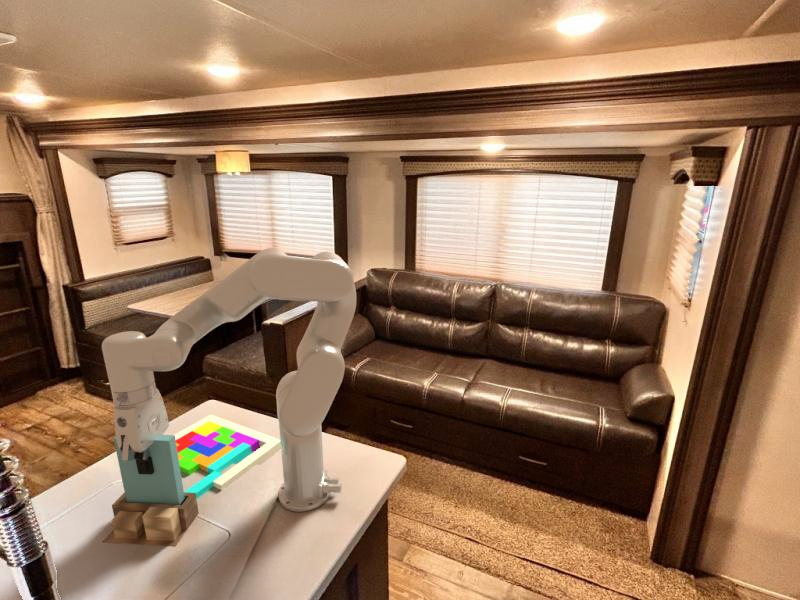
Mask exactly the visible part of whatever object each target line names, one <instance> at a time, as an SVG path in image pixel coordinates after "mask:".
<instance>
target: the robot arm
mask: <svg viewBox="0 0 800 600" xmlns="http://www.w3.org/2000/svg"><path fill="white" fill-rule="evenodd" d="M354 279H355V278H354V274H353V272H352V269H351V268H350V266H349V265H348V264H347V262H345V261H344V260H343V259H342V257H341V256H340V255H338V254H336V253H334V252H333V251H321V252H319V253H317V254H314V256H313V257H312V258H308V257H307V258H305V257H294V256H288V254H286V253H285V252H284V251H282V250H281V249H278V248H274V247H269V248H265V249H262V250H260V251H259V252H258V253H256V254H255V255H253V256H252V257H250V258H249V259H248V260H246V261H245V262H244V263H242V264H241V265H240V266H239V267H237V268H236V269H235V270H233V271H232V272H231V273H229V274H227V276H226V277H224V278H223V279H221V280H220V281H219V282H217V283H215V285H213V286H212V287H211V288H209V289H208V290H206V291H205V292H204V293H202V295H200V296H198V297H197V298H196V299H194V300H193V301H191V302H190V303H188V304H187V305H186V306H184V307H183V308H182V309H181V310H179V311H178V312H177V313H175V314H174V315H172V316H171V317H169V318H168V319H167V320H166V321H165V322H163V323H162V324H161V325H160V326H159V327H158V329H157V330H156V331H155V332H154V333H153V334H151V335H150V336H146V335H145V334H144V333H143V332H140V331H135V330H130V331H129V330H128V331H122V332H117V333H114V334H111V335H109V336H107V337H105V338H104V340H103V341H102V343H101V352H102V355H103V361H104V364H105V369H106V374H107V378H108V382H109V386H110V391H111V397H112V405H114V407H113V423H114V432H115V433H114V434H115V437H116V439H117V443H118V447H119V449H120V451H121V452H122V461H131V460H136V465H137V469H138V473H139V474H149V475H152V474H153V473H154V468H153V463H152V458H151V457H149V454H148V449H147V448H148V447H149V446H151V445H152V444H153V443H154V440H155V439H156V438H157V437H158V436H159V435H164V434H165V432H167V430H168V429H169V426H170V423H169V418H168V413H167V409H166V405H165V403H164V400H163V397H162V395H161V394H162V393H160V391H159V389H158V388H157V386H156V382H155V381H156V380H155V375H154V374H155V373H154V372H170V371H174V370H176V369H179V368H180V367H181V366H182V365H183V364H184V363H185V362H186V360H187V357H188V355H189V353H190V351H191V348H192V347H193V345H194V344H196V343H197V342H198V341H200V340H201V339H202V338H203V337H204V336H206V335H207V334H209V332H211V331H213V330H215V329H216V328H217V327H219V326H221V325H222V324H226V323H231V322H232V323H233V322H234V323H235V322H238V321H240V320H242V319H243V318H245V316H247V315H248V314H249V313H251V312H252V311H253V310H254V309H255V308H257V307H258V306H259V305H261V304H262V303H264V302H265V301H266V300H268V299H271V300H280V301H282V300H283V301H297V302H316V307H315V309H314V312H313V315H312V318H311V320H310V322H309V324H308V326H307V328H306V330H305V333H303V334H304V335H303V337H302V339H301V340H300V342H299V344H298V347H297V349H296V364H297V370H294V371H290V372H288V373H286V374H285V375H284V376H282V378H281V379H280V381H279V382H278V384H277V388H276V393H275V399H276V400H275V401H276V413H277V420H278V426H279V437H280V438H279V439H280V440H281V450H280V451H281V462H282V463H281V464H282V473H283V474H282V475H283V483H282V485H280V488H279V489H278V494H277V495H278V496H277V497H278V502H279V503H280V505H281V506H282V507H283V508H284V509H287V510H288V511H291V512H308V511H310V510H314V509H317V508H318V507H320V506H322V505H323V504H324V503H325V502H326V501H327V500H328V499H329V498H330V496H331V494H332V493H337V494H339V493H340V494H341V493H342V487H343V484H342V483H339V482H340V478H339V477H330V476H328V470H325V468H324V454H323V453H324V451H323V450H324V449H323V431H322V423H323V422H324V420H325V418H326V416H327V414H328V412H329V410H330V408H331V406H332V404H333V401H334V400H335V397H336V395H337V394H338V390H339V389H340V387H341V384H342V382H343V379H344V375H345V369H346V368H345V367H346V365H345V364H346V363H345V360H344V356H343V355H342V350H341V349H342V347H343V344H344V342H345V339H346V336H347V334H348V332H349V329H350V327H351V324H352V322H353V319H354V315H355V312H356V308H357V291H356V290H357V289H356V285H355V281H354ZM140 452H141V453H140Z"/></svg>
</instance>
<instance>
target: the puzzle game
mask: <svg viewBox="0 0 800 600" xmlns="http://www.w3.org/2000/svg"><path fill="white" fill-rule="evenodd" d="M173 435H175V440H176V446H177V453H178V459H179V465H180V471H181V472H182V473H184V474H186V475H189V476H191V475H192V474H194V473H196V472H197V471H198V470H202V471H205V472H207V473H209V474H207V475H206V476H204V477H203V478H202V479H200V480H199V481H198V482H196V483H195V484H193V485H192V486H190V487H189V488H188V489H186V490H184V492H187V493H196V499H197V500H198V499H199V498H200V497H201V496H203V495H204V494H205V493H207V492H208V491H210V490H211V489H212V488H215V489H218V490H220V491H224V490H225V489H226V488H227V487H229V486H230V485H231V484H232V483H234V482H235V481H237V480H238V479H239V478H241V477H242V476H243V475H244V474H246V473H247V472H249V471H251V469H253V468H254V467H255V466H257V465H263V463H265V462H266V461H268V460H269V459H271V457H273V456H274V455H275V454H277V453H278V452H280V451H281V450H280V449H281V440H280V438H277V437H274V436H272V435H269V434H266V433H264V432H260V431H258V430H255V429H253V428H249V427H247V426H245V425H242V424H239V423H235V422H233V421H230V420H228V419H225V418H222V417H219V416H217V415H214V414H208V415H207V416H205V417H204V418H201V419H200V420H198V421H196V422H194V423H193V424H191V425H189V426H187V427H186V428H184V429H181V430H180V431H178V432H175V433H174V434H173ZM259 447H260V448H259ZM255 450H256V451H255ZM232 464H235V465H234V466H232V467H230V468H229V466H231V465H232ZM227 468H229V469H227ZM226 469H227V471H225V472H224V473H221V472H222V471H224V470H226Z"/></svg>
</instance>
